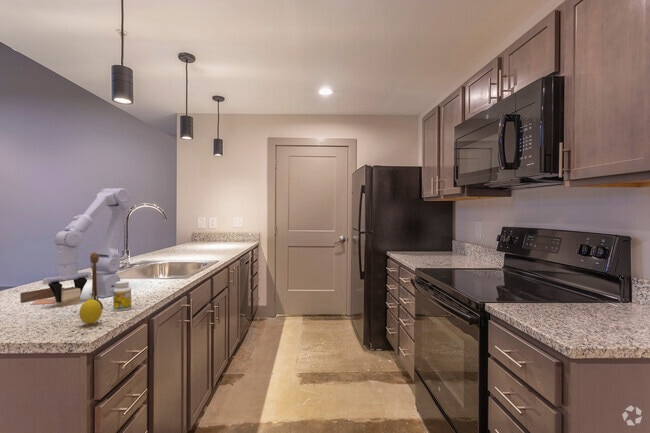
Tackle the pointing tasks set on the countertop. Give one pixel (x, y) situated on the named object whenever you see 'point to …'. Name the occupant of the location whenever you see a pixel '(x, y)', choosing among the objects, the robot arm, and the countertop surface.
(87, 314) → the lemon
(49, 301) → the pad
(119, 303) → the supplement bottle
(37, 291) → the brown wooden l-shaped block
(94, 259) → the wooden tabletop sculpture
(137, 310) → the countertop surface
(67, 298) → the maple cube
